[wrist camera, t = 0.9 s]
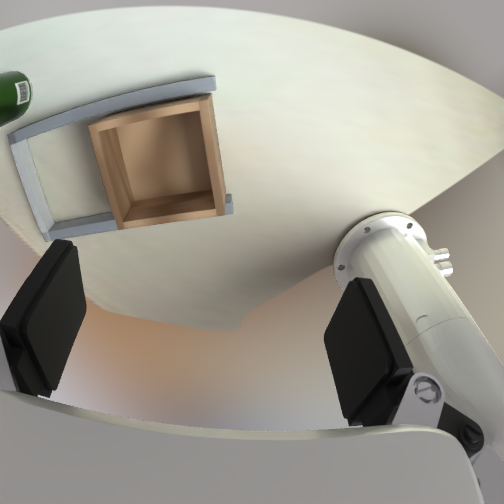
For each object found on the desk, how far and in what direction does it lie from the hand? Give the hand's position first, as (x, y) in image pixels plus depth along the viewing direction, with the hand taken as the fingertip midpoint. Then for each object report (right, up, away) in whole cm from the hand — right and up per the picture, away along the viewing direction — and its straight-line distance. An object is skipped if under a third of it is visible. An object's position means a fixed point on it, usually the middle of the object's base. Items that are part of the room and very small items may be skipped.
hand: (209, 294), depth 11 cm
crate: (-7, +11, +19) cm, 23 cm away
